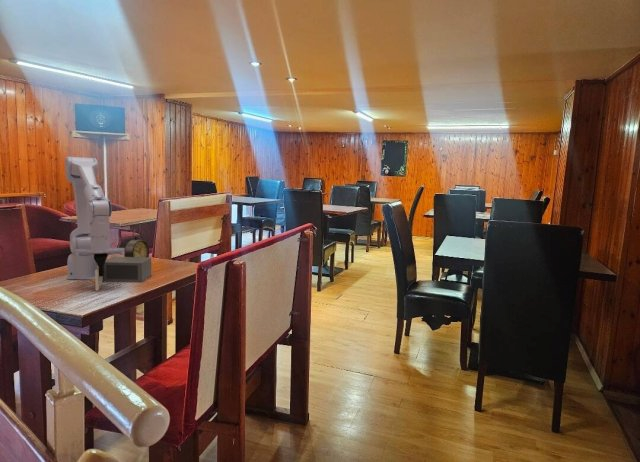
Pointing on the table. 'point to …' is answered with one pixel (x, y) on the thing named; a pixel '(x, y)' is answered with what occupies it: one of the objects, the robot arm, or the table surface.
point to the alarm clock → (136, 248)
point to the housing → (127, 269)
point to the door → (97, 279)
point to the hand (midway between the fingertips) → (101, 275)
